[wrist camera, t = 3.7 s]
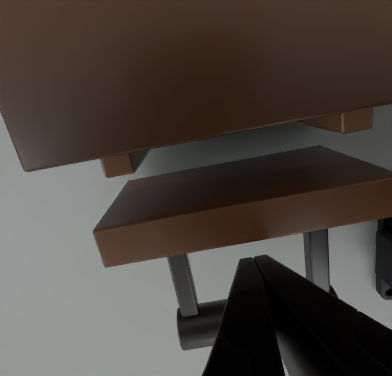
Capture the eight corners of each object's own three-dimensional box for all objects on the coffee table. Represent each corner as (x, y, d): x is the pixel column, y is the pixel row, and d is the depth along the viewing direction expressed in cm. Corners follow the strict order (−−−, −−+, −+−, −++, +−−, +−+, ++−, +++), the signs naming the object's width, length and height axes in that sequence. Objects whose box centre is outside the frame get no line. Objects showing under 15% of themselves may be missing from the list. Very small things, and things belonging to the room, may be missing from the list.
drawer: (324, 255, 13) (395, 335, 9) (156, 284, 14) (141, 378, 9) (309, -120, 9) (435, -344, 4) (60, -67, 9) (-64, -229, 5)
